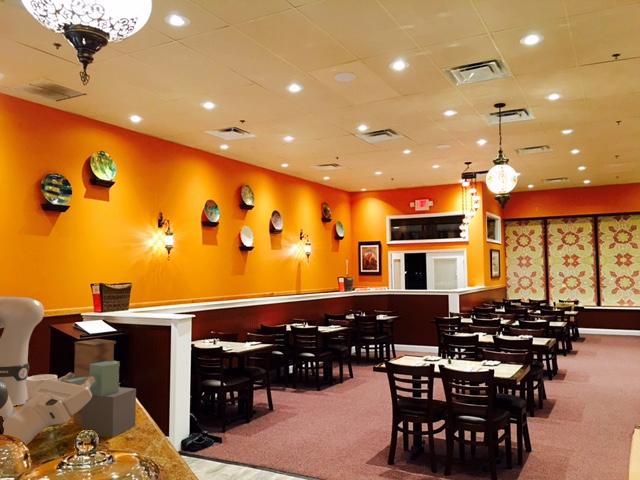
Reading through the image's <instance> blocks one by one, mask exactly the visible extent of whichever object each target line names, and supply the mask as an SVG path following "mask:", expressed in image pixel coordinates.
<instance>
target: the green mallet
mask: <svg viewBox="0 0 640 480" xmlns="http://www.w3.org/2000/svg"><path fill="white" fill-rule="evenodd" d="M120 363H121V362H120V361H117V360H114V361H111V362H110V361H104V362H99V363H93V364H90V376H92V377H94V379H95V382H94V383H93V384H91V386H90V389H89V390H90V392H91V393H92V394H93V395H97V396H105V395H110V394H114V393H118V391H119V387H120V366H121V364H120ZM88 377H89V376H85V377H80V378H75V379H70V380H65V382H66V383H71V384H76V385H82V384H84V383H85V382H86V380H85V379H87V378H88Z"/></svg>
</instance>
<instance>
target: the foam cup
mask: <svg viewBox="0 0 640 480" xmlns="http://www.w3.org/2000/svg"><path fill="white" fill-rule="evenodd" d="M47 379H51V380H57V379H58V375H57V374H47V373H46V374H37V375H32V376H28V378H26V387H27V394H28V398H29V397H30V394H31V392H32V391H33V390H34V389H35V388H36V387H38V386H39V385H40V384H41V383H42V382H43V381H45V380H47Z"/></svg>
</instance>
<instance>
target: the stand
mask: <svg viewBox="0 0 640 480" xmlns="http://www.w3.org/2000/svg"><path fill="white" fill-rule="evenodd" d="M116 344H117V341H116V340H109V339H101V338H95V339H88V340H80V341H74V372H73V373H74V375H75V378H80V377H85V376H90V364H93V363H99V362H104V361H110V362H111V361H115V359H114V356H115V355H114V354H115V351H114V350H115V345H116ZM75 378H74V379H75ZM82 409H83V407H82V408H81V409H80V410H79V411H78V412H76V413H75V414H73V415H72V416H73V421H72V423H74V424H77V425H80V426H82Z"/></svg>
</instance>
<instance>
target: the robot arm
mask: <svg viewBox="0 0 640 480" xmlns="http://www.w3.org/2000/svg"><path fill="white" fill-rule="evenodd" d="M44 315H45V307H44V306H43V304H42V302H40V301H39V300H36V299H33V298H31V297H23V296H0V329H2V328H3V332H2V334H1V336H0V416H2V417H3V420H4V422H3V427H4V433H3V434H5V435H10V436H13V437H16V438H18V439H20V440H21V441H23V442H24V443H25V445H26V446H27V445H28V444H29V443H31V442H32V441H33V440H34V438H35V437H36V436H37V435H38V434H39V433H41V432H42V431H44V430H46V429H47V428H48V427H49V426H54V425H60V424H66V423H68V422H69V421H70V420H71V416H73V414H75V413H76V412H78V411H79V410H80V409H81V408H82V407H84V406H85V405H86V404H87V403H88V402H89V401H90V400H91V398H92V393H91V392H90V390H89V389H90V386H91V384H93V383H94V382H95V379H94V377H92V376H89V377H88V378H87V379H85V380H86V382H85V383H84V384H82V385H76V384H71V383H66V382H65V380H70V379H74V378H75V375H74V373H75V372H68V373H67V374H66V375H64V376H61V377H59V378H57V380H51V379H47V380H45V381H43V382H42V383H41V384H40V385H39V386H38V387H36V388H35V389H34V390H33V391H32V392H31V394H30V397H29V398H28V394H27V387H26V378H28V377H29V376H28V374H29V372H30V371H29V370H30V363H29V362H28V356H29V343H30V339H31V336H32V333H33V331H34V329H35V327H37V325H38V324H40V322H41V321H42V320H43V319H44ZM16 405H17V406H20V407H19V408H18V409H17V408H15V406H16Z"/></svg>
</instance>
